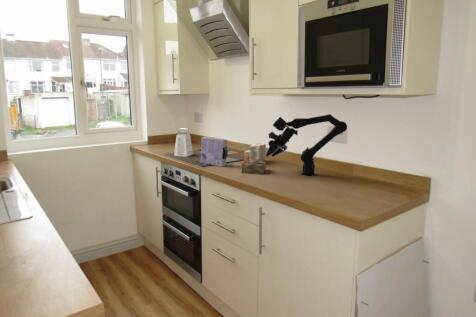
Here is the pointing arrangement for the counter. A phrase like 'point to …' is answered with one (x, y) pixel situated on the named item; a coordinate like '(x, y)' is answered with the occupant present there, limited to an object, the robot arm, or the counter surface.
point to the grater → (183, 144)
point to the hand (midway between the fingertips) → (269, 156)
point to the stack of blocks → (261, 153)
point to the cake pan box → (214, 151)
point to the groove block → (253, 167)
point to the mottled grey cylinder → (254, 155)
